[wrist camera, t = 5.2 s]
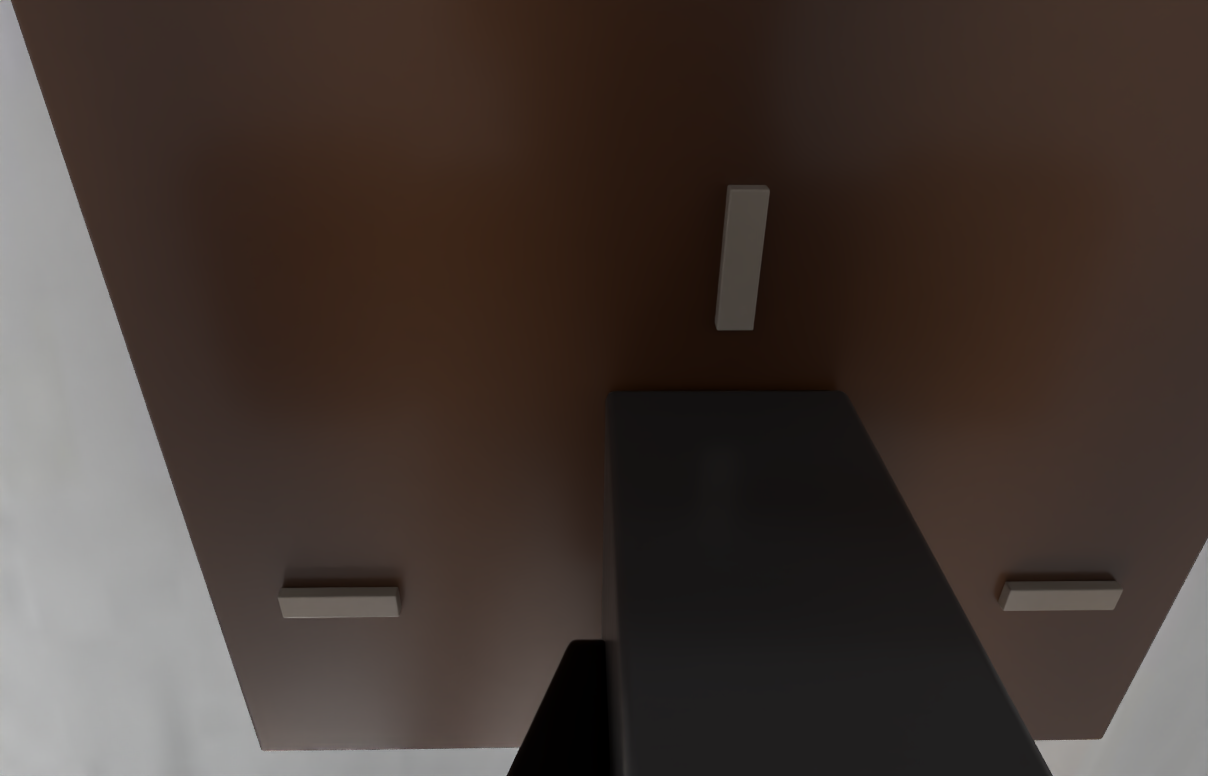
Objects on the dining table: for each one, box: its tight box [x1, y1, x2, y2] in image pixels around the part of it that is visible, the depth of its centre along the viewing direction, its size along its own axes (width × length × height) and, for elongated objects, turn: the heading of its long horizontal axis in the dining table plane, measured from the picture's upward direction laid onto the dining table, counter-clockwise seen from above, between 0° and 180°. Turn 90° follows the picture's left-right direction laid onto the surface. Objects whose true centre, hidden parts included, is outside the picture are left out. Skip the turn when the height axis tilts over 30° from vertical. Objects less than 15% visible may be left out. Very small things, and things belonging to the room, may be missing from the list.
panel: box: [11, 0, 1208, 751], centre depth 11 cm, size 12×12×3 cm
